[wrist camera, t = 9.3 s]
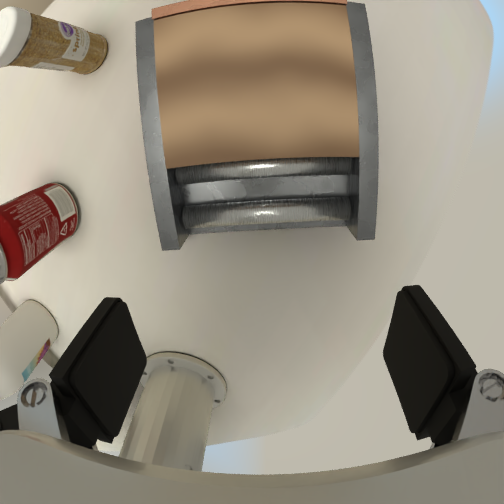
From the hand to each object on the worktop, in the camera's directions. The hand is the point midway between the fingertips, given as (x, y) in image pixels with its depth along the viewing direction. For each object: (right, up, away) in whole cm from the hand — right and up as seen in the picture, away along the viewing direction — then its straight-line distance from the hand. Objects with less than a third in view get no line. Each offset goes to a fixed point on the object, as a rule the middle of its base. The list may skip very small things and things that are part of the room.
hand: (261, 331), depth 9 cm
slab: (0, +15, +10) cm, 18 cm away
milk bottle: (-33, -8, +26) cm, 42 cm away
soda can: (-22, +7, +18) cm, 29 cm away
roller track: (0, +14, +14) cm, 20 cm away
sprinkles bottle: (-16, +22, +11) cm, 30 cm away
